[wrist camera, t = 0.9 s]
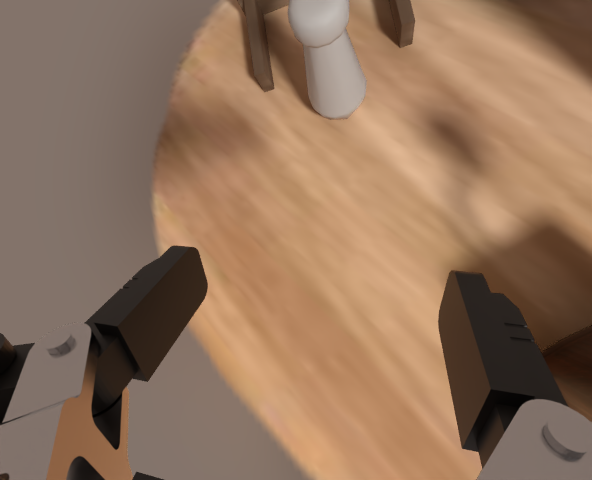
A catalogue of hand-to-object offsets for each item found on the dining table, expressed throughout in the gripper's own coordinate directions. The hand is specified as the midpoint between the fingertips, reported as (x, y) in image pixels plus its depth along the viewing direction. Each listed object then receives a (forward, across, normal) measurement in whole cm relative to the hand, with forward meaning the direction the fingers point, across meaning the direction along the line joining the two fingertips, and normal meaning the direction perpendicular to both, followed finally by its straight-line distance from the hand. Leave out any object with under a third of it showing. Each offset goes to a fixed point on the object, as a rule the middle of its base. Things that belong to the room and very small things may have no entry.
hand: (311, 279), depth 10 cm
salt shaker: (+28, +2, -1) cm, 28 cm away
